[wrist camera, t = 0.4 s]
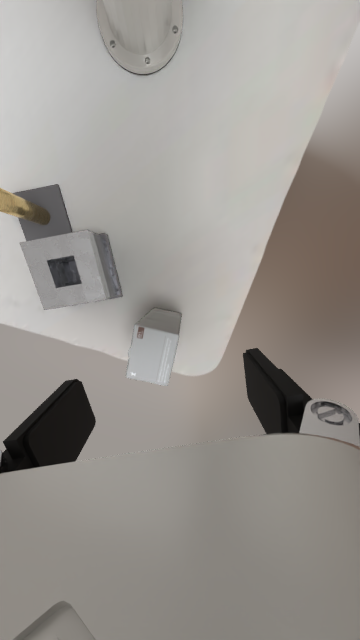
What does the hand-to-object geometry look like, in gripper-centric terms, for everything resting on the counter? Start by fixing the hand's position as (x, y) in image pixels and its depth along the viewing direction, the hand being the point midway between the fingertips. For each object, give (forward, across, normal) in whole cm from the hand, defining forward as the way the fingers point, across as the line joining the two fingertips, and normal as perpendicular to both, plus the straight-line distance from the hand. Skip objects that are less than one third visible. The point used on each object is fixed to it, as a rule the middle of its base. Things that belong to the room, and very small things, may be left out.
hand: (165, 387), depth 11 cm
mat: (+30, +21, -20) cm, 42 cm away
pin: (+30, +21, -20) cm, 42 cm away
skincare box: (+30, +4, +5) cm, 31 cm away
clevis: (+30, +17, -9) cm, 35 cm away
